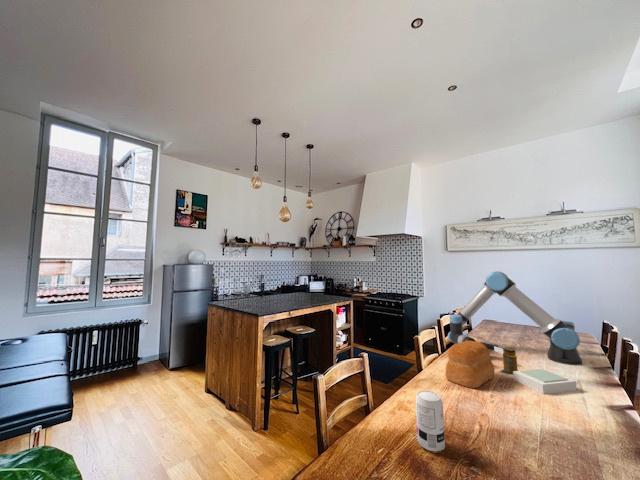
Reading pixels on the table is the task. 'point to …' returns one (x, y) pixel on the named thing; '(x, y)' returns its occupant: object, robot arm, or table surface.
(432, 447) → the supplement can
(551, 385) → the riser
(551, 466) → the table surface
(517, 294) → the robot arm
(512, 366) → the condiment
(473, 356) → the bread
